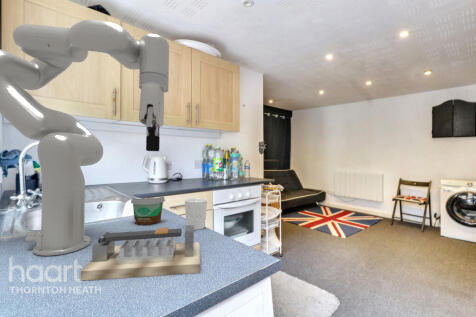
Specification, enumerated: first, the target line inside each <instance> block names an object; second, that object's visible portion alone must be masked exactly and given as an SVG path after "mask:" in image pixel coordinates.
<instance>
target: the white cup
mask: <svg viewBox="0 0 476 317" xmlns="http://www.w3.org/2000/svg"><path fill="white" fill-rule="evenodd" d="M184 204H185V206H184V207H185V208H184V209H185V210H184V211H185V213H184V214H185V222H186V223H185V224H186V225H194V231H198V230H197V229H199V230H203V229H204V228H206V219H207V207H208V206H207V205H208V199H206V198H205V197H204V198H202V197H191V198H186V199H185V200H184ZM186 225H185V226H186Z"/></svg>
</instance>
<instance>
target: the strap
mask: <svg viewBox="0 0 476 317" xmlns="http://www.w3.org/2000/svg"><path fill="white" fill-rule="evenodd" d="M182 228H183V227H182ZM182 228H170V227H159V228H156V229H154V230H152V229H151V230H139V231H136V230H135V231H123V232H121V231H120V232H119V231H118V232H108V231H107V232H105V233H104V234H102V235H101V236H100V237H99V238H98V239H97V242H98V243H103V242H110V241H115V242H120V241H122V242H123V241H124V242H125V241H127V240H135V241H137V240H138V239H145V240H148V239H152V238H154V239H159V238H164V239H165V238H169V237H173V238H179V237H182V233H183V229H182Z"/></svg>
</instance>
